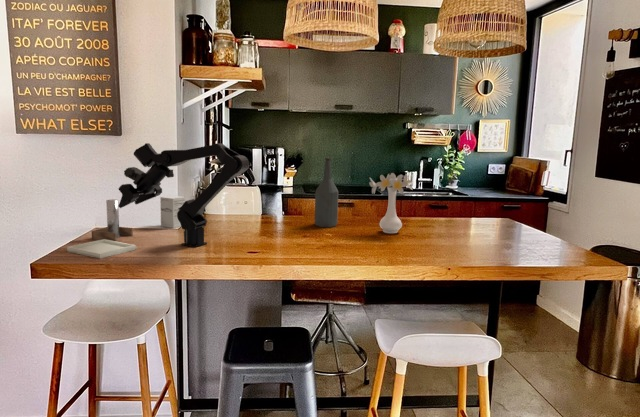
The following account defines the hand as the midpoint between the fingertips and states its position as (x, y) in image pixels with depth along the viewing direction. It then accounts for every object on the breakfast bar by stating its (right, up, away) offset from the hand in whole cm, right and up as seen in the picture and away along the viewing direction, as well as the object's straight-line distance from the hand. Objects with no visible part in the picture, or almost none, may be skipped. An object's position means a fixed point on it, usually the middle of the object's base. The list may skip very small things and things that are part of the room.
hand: (127, 205), depth 171 cm
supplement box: (+8, -9, +27) cm, 30 cm away
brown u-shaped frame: (-7, -12, +3) cm, 14 cm away
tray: (-2, -15, -16) cm, 22 cm away
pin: (-7, -12, +3) cm, 14 cm away
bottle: (+73, -9, +38) cm, 83 cm away
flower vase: (+99, -11, +27) cm, 104 cm away
